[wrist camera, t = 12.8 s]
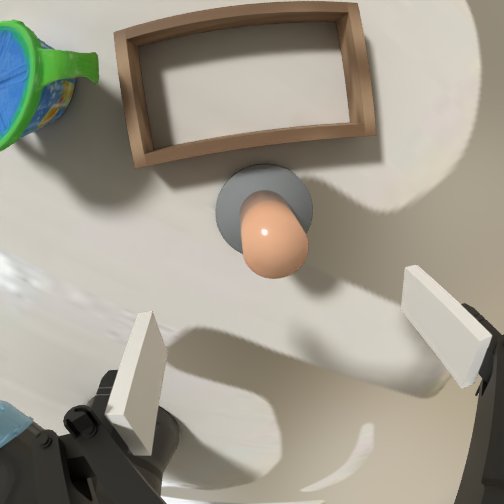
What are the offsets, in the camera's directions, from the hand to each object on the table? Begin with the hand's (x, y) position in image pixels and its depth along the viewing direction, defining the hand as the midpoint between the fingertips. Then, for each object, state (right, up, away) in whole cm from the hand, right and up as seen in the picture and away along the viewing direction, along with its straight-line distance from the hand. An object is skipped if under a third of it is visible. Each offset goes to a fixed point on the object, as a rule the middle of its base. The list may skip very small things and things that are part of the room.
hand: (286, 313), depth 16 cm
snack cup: (-22, +19, +8) cm, 30 cm away
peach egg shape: (-1, +6, +14) cm, 15 cm away
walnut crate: (-2, +18, +9) cm, 20 cm away
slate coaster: (-1, +7, +14) cm, 16 cm away
